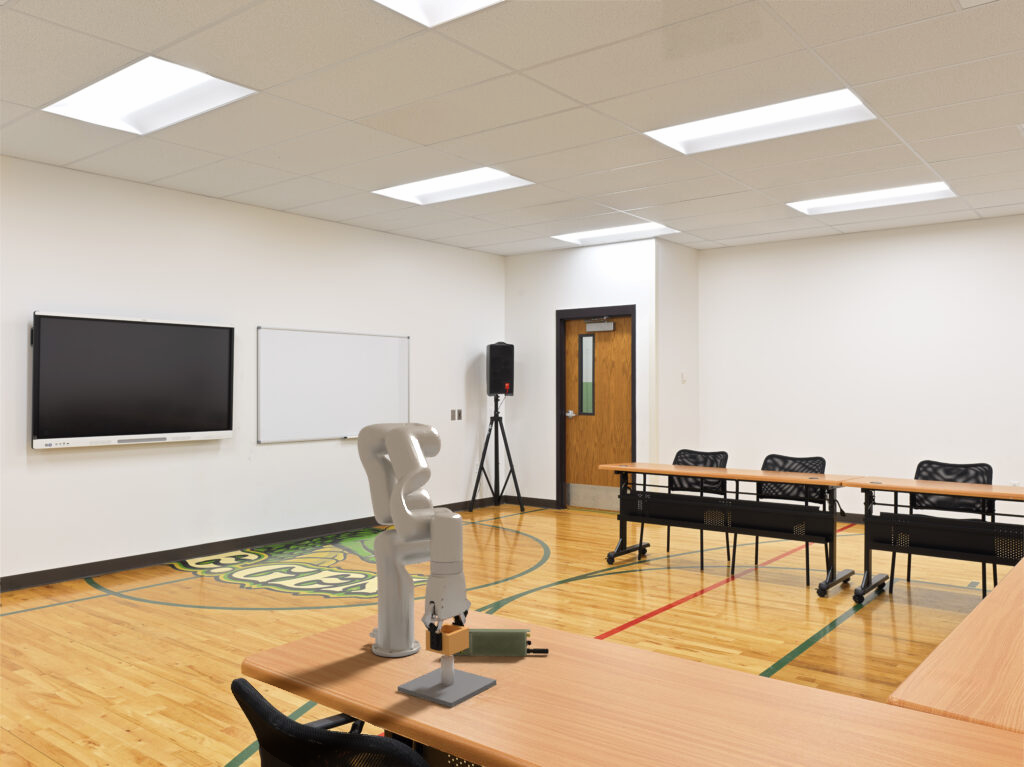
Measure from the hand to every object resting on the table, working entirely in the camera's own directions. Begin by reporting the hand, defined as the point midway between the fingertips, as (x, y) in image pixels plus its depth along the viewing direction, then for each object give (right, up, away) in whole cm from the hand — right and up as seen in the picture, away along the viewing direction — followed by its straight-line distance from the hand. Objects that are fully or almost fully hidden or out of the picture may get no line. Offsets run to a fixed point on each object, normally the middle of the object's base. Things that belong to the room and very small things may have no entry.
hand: (447, 644), depth 178 cm
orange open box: (0, -1, 0) cm, 1 cm away
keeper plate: (0, -10, 0) cm, 10 cm away
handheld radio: (+12, -10, +22) cm, 27 cm away
